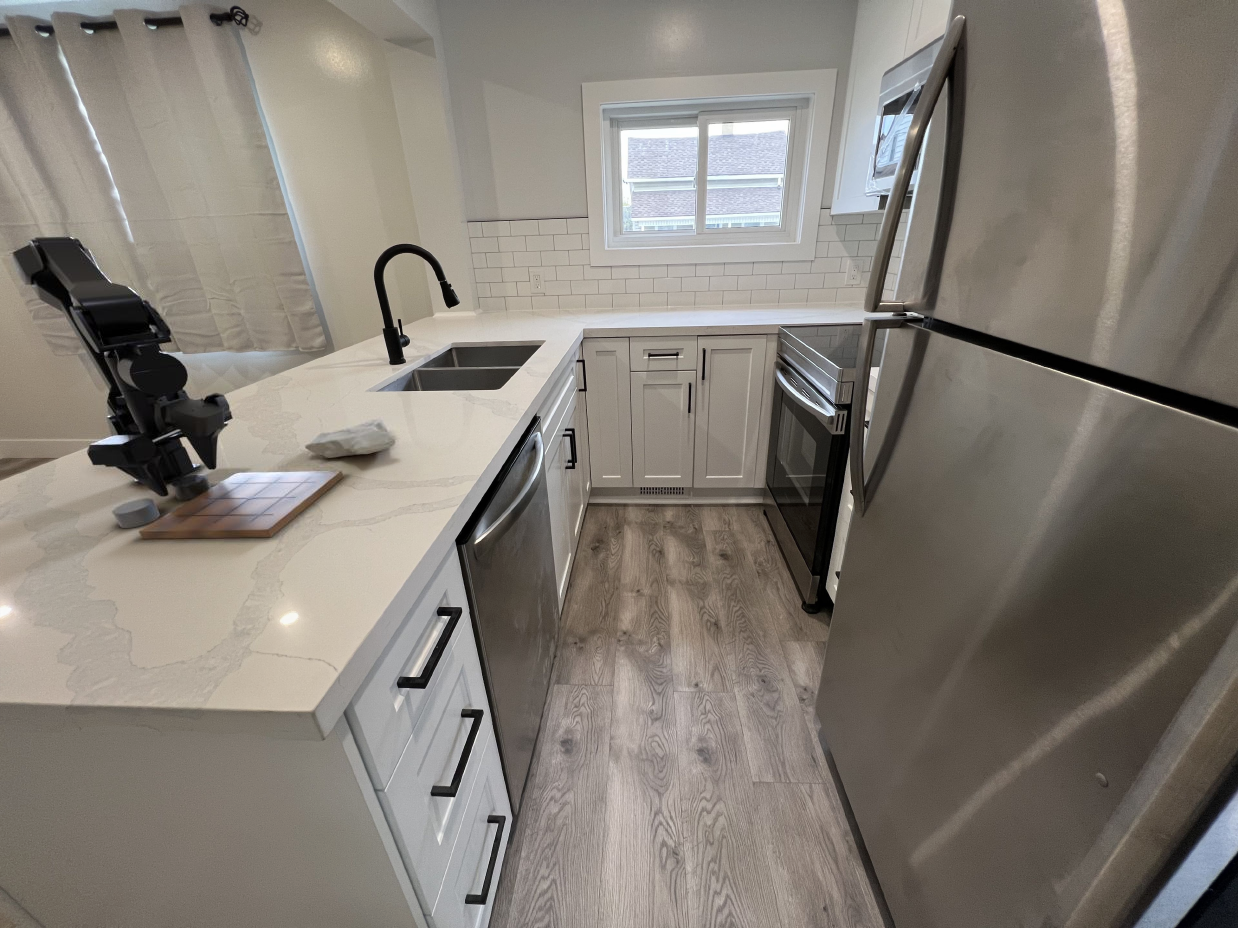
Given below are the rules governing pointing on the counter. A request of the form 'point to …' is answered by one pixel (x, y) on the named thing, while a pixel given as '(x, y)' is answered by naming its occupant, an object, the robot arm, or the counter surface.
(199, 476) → the black stone
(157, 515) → the grey stone
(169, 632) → the counter surface
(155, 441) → the robot arm
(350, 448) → the rock
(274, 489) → the board
